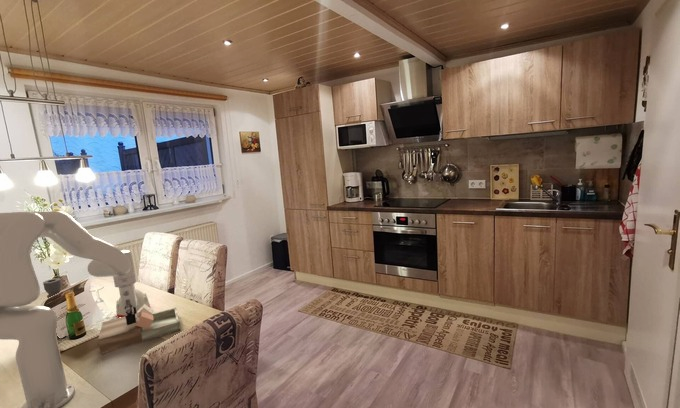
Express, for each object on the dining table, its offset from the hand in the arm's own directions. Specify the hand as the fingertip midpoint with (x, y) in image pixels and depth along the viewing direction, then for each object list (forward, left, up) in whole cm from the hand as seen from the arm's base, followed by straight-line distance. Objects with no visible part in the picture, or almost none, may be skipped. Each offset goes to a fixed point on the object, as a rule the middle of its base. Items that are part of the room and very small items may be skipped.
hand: (132, 318), depth 137 cm
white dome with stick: (+27, +1, -8) cm, 28 cm away
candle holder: (+20, +27, -8) cm, 34 cm away
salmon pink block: (-5, -3, -2) cm, 6 cm away
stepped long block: (0, -3, -7) cm, 8 cm away
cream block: (+4, -3, -2) cm, 5 cm away
